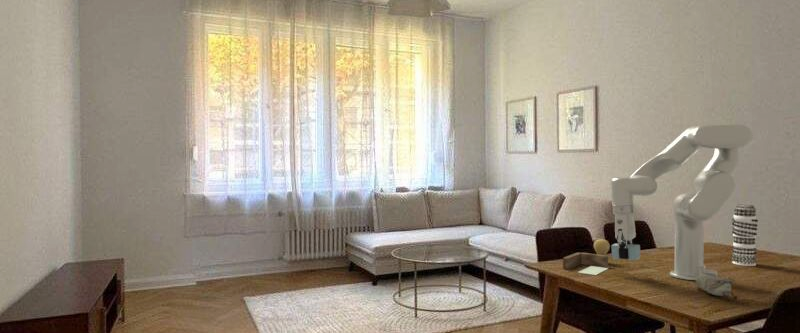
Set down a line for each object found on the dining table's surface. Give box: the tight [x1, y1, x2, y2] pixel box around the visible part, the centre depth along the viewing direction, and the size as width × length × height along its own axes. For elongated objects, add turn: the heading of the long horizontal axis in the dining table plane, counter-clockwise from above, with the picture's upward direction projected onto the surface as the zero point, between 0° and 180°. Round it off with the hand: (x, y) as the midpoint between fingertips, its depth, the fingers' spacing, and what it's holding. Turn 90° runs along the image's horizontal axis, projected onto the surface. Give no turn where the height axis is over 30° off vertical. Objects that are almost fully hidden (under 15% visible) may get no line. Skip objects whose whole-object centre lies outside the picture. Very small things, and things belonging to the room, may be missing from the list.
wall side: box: [578, 251, 609, 268], centre depth 213 cm, size 12×2×4 cm, turn 50°
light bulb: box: [593, 238, 611, 256], centre depth 219 cm, size 6×6×10 cm
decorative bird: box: [695, 274, 738, 302], centre depth 167 cm, size 5×16×7 cm, turn 6°
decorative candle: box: [731, 203, 759, 267], centre depth 215 cm, size 9×9×25 cm
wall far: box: [562, 251, 582, 270], centre depth 211 cm, size 2×16×4 cm, turn 139°
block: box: [610, 242, 641, 261], centre depth 195 cm, size 9×4×5 cm, turn 48°
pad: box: [577, 265, 609, 276], centre depth 203 cm, size 7×15×1 cm, turn 140°
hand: (626, 256), depth 195 cm, fingers closed on block, 4 cm apart
